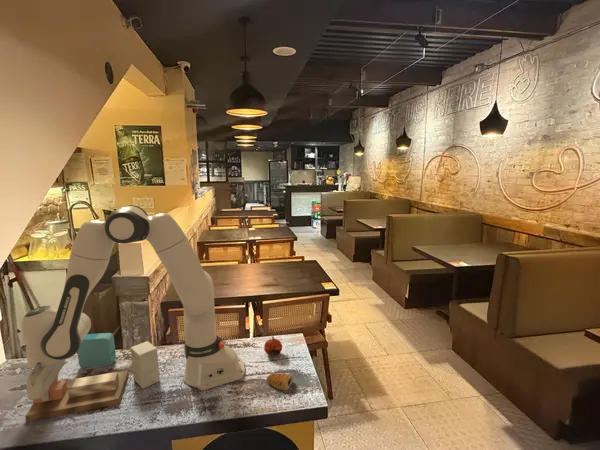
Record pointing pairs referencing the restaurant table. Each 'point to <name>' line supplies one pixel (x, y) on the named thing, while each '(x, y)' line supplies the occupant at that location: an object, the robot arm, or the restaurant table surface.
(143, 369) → the small box
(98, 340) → the data package
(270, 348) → the pomegranate
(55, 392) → the orange rectangular block
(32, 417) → the board
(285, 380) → the pastry
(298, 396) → the restaurant table surface
